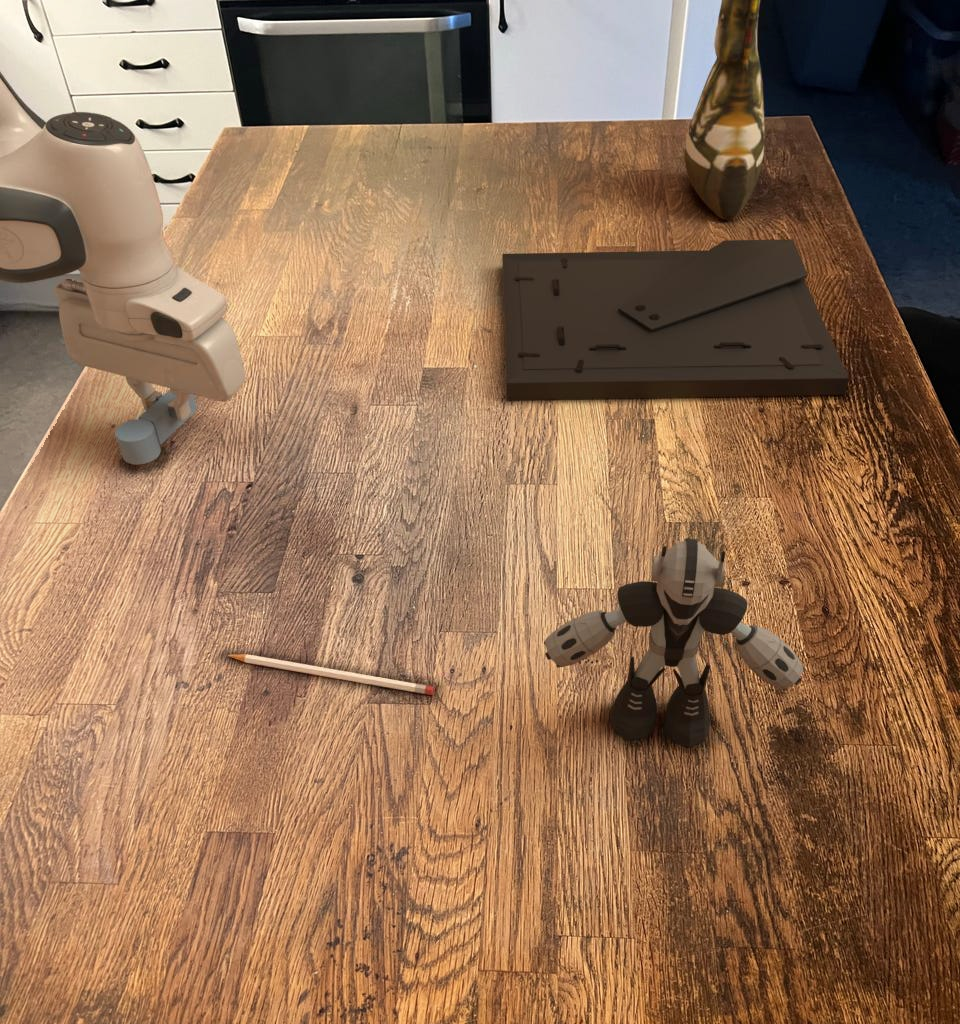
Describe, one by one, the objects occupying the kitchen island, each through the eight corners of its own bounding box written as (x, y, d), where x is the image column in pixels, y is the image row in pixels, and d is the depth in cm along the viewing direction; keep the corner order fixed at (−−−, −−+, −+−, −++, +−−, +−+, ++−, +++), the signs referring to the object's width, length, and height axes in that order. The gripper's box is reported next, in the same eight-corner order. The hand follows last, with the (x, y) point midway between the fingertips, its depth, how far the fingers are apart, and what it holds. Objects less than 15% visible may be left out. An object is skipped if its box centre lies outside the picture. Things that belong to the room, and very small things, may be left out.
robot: (779, 711, 82) (840, 527, 67) (783, 758, 79) (847, 576, 64) (543, 686, 84) (552, 502, 69) (537, 731, 81) (545, 549, 66)
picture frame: (787, 265, 133) (502, 270, 134) (793, 239, 131) (502, 244, 131) (844, 395, 113) (506, 400, 113) (852, 367, 110) (506, 373, 110)
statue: (766, 222, 142) (824, -73, 116) (691, 225, 142) (732, -70, 116) (740, 173, 153) (788, -105, 128) (670, 176, 153) (704, -102, 127)
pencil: (432, 697, 84) (431, 692, 83) (226, 661, 87) (225, 655, 86) (434, 690, 84) (434, 685, 84) (230, 654, 87) (228, 649, 87)
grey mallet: (175, 404, 112) (168, 381, 110) (205, 412, 111) (199, 389, 109) (114, 459, 105) (106, 436, 103) (146, 468, 104) (138, 444, 102)
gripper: (29, 288, 99) (72, 407, 109) (203, 330, 93) (231, 450, 103) (70, 261, 103) (108, 377, 113) (239, 299, 97) (263, 418, 107)
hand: (168, 413), depth 108 cm, fingers closed on grey mallet, 2 cm apart
